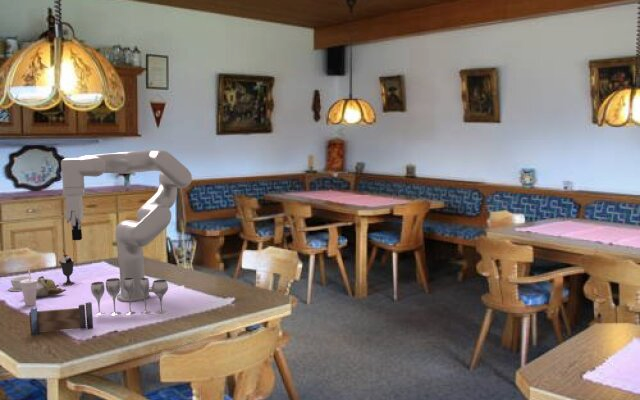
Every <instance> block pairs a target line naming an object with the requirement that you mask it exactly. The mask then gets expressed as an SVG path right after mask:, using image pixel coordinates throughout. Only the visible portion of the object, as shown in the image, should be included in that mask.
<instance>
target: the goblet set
mask: <svg viewBox="0 0 640 400" xmlns="http://www.w3.org/2000/svg"><path fill="white" fill-rule="evenodd" d="M149 281H150V280H149V278H148V277H145V278H141V279H140V290H141V292H142V294H143V296H144V299H143V300H144V311H141V312H140V315H149V314H151V313H152V311H149V310H147V298H146V296H147V293H148V290H149V287H150V282H149ZM151 287H152V290H153V292H152V293H153V294H155V295H156V296H157V297H158V299H159V304H160V310H156V311H155V312H154V314H155V315H164V314H167V313H168V310H164V309H162V300H163V297H164V296H165V295H166V293H167V292H168V290H169V286H168V282H167V280H166V279H156V280H154V281H153V282H152V286H151ZM105 289H106V292H107V294H108V295H109V297H111V299H112V301H113V312H109V313H110V314H109V313H108V314H109V315H108V316H110V315H112V316H111V317H113V316H115V315H116V316H119V315H120V316H121V315H122V312H121V311H116V300H117V295H118V294H120V292H121V283H120V278H118V277H111V278H107V279H106V280H105V283H104V282H103V281H94V282H92V283H91V284H90V290H91V291H90V292H91V294H92V296H93V297H94V298H95V300H96V302H97V307H98V312H96V314H95V313H94V314H95V315H102V314H105V313H106V312H104V313H102V312H101V310H100V304H101V299H102V298H103V295H104V293H105ZM124 290H125V292H126V294H127V296H128V299H129V301H128V302H129V311H127V312H125V313H124V314H125V316H132V315H136V313H137V312H136V311H132V310H131V302H132V301H131V295H132V293H133V290H134V281H133V278H125V279H124ZM100 312H101V313H100ZM105 315H106V314H105Z"/></svg>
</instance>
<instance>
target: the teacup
mask: <svg viewBox="0 0 640 400" xmlns="http://www.w3.org/2000/svg"><path fill="white" fill-rule="evenodd" d="M26 279H29V276H27V275H25V276H16V277H12V278H10V283H11V285H12V286H11V287H9V288H8V289H7V290H8V291H9V292H10V291H11V292H22V287H21V285H20V281H22V280H26Z"/></svg>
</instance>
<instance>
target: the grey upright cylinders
mask: <svg viewBox="0 0 640 400" xmlns="http://www.w3.org/2000/svg"><path fill="white" fill-rule="evenodd" d="M84 305H85V317H86V330H93V329H94V321H93V319H94V318H93V317H94V316H93V304H92V302H85V304H84ZM37 311H38V308H37V307H31V308H30V312H31V321H32V336H38V335H40V332H39V327H38V315H37Z"/></svg>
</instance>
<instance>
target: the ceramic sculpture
mask: <svg viewBox="0 0 640 400" xmlns="http://www.w3.org/2000/svg"><path fill="white" fill-rule="evenodd" d="M36 279H37V280H38V283H37V291H36V297H39V296H40V297H48V296H51V295H52V296H53V295H54V296H55V295H60V294H62V293H64V292H66V291H67V289H63V288H60V287H59V285H58V284H56V283H55V281H54V280H53V279H51V278H49V277H47V278H45V277H44V276H43V275H42V276H39V277H38V278H36Z"/></svg>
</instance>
